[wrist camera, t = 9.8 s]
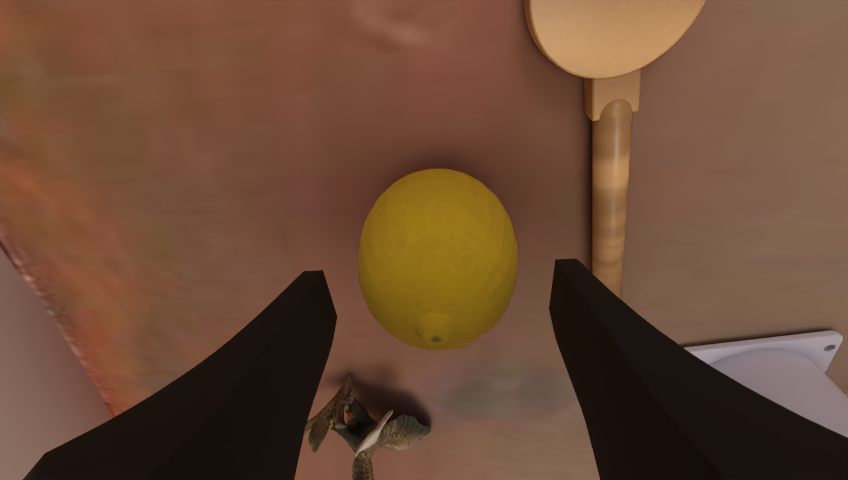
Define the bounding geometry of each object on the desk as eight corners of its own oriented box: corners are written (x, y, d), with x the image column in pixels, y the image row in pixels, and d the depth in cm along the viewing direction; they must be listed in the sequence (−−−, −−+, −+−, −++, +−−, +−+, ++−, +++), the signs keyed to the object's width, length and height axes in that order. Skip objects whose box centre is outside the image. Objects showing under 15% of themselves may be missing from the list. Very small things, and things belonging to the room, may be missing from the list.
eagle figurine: (273, 410, 25) (348, 493, 28) (272, 492, 18) (370, 590, 21) (369, 339, 27) (430, 424, 29) (400, 390, 20) (475, 493, 23)
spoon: (651, 338, 21) (662, 356, 20) (552, 349, 22) (558, 368, 21) (716, -164, 10) (748, -181, 9) (514, -99, 11) (521, -107, 10)
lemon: (378, 245, 18) (341, 393, 12) (375, 134, 15) (323, 250, 9) (491, 252, 18) (518, 405, 12) (512, 142, 15) (564, 265, 9)
